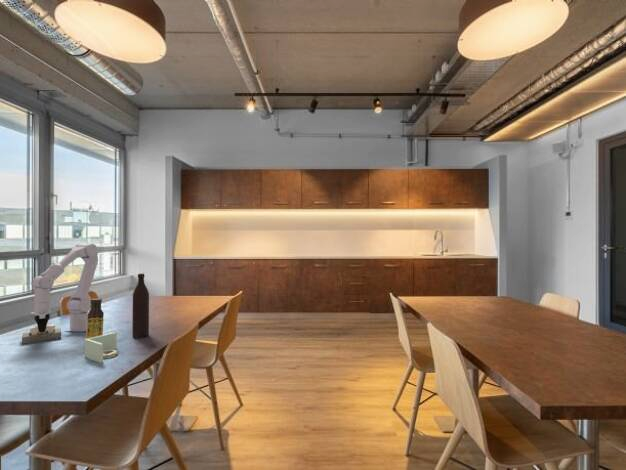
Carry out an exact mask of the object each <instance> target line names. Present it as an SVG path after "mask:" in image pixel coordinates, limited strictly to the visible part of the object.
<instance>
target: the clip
mask: <svg viewBox="0 0 626 470" xmlns="http://www.w3.org/2000/svg"><path fill="white" fill-rule="evenodd" d="M55 329H56V324H55V323H53V324H47V326H46V330H45V331H48V333H52V332H54V330H55ZM29 332H30V333H31V335H37V332H39V330H38V325H36V326H30V328H29Z"/></svg>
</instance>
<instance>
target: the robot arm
mask: <svg viewBox="0 0 626 470" xmlns="http://www.w3.org/2000/svg"><path fill="white" fill-rule="evenodd" d="M99 251H100V249H99V248H98V246H97V245H96V244H94V243H77V244H76V245H74V247H72V248H71V250H70V251H69V252H68V253H67V254H66V255H65V256H64V257H63V258H62V259H61V260H60V261H59V262H58V263H54V264H50V265H49V266H48V268H47V269H46V270H45V271H43V272H42V273H40V275H37V276H35V277H33V280H32V281H31V283H30V284H31V286H32V288H33V290H34V291H33V292H34V299H33V300H34V302H33V303H34V309H33V310H34V311H32V312H30V315H34V321H35V322H36V324H37V325H36V326H38V330H39V333H40V332H45V330H46V326H47V325H48V322H49V320H50V318H51V315H50V314H51V312H52V311H51V287H53V286H54V283H55V281H56V280H57V279H58V278H59V277H61V275H63V273H65V268H67V266H69V265H70V264H71V263H73V262H74V261H75V260H77V259H78V258H81V259H82V260H83V262H84V265H83V268H82V272H81V274H80V278H79V281H78V285H77V288H76V291H75V293H73V294H71V296H70V299H69V300H68V301H67V303H66V309H67V310H68V311H69V329H67V330H65V332H78V333H79V332H87V319H88V313H89V311H90V309H91V299H92V298H91V296H90V295H89V292H90V289H91V286H92V283H93V279H94V276H95V273H96V270H97V266H98V263H99V255H98V254H99Z"/></svg>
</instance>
